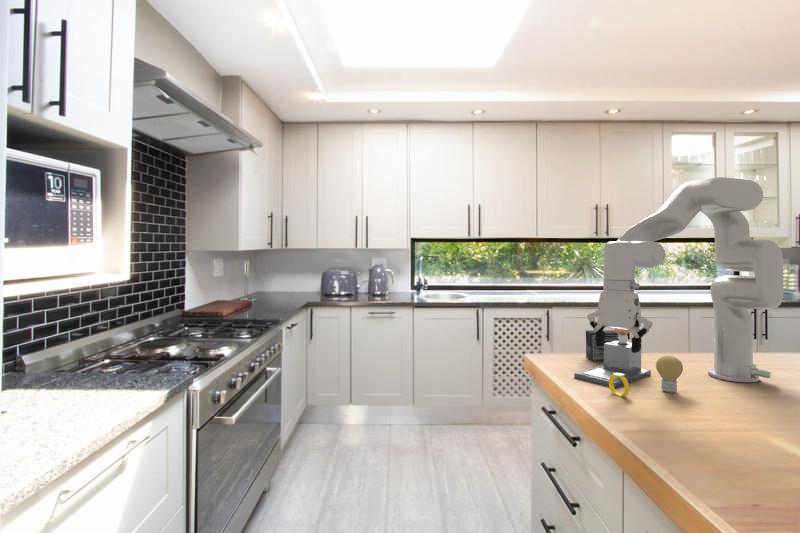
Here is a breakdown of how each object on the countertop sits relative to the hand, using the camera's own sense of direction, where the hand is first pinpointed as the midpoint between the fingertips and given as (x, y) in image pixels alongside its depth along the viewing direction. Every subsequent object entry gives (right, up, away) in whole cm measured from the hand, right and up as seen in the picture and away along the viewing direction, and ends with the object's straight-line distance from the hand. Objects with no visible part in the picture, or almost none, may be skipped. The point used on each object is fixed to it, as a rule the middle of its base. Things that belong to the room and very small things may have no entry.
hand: (617, 348), depth 116 cm
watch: (+1, -13, +1) cm, 13 cm away
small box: (+15, -12, +39) cm, 43 cm away
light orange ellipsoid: (+13, -5, +21) cm, 25 cm away
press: (+8, -12, +18) cm, 23 cm away
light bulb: (+16, -13, +3) cm, 21 cm away
